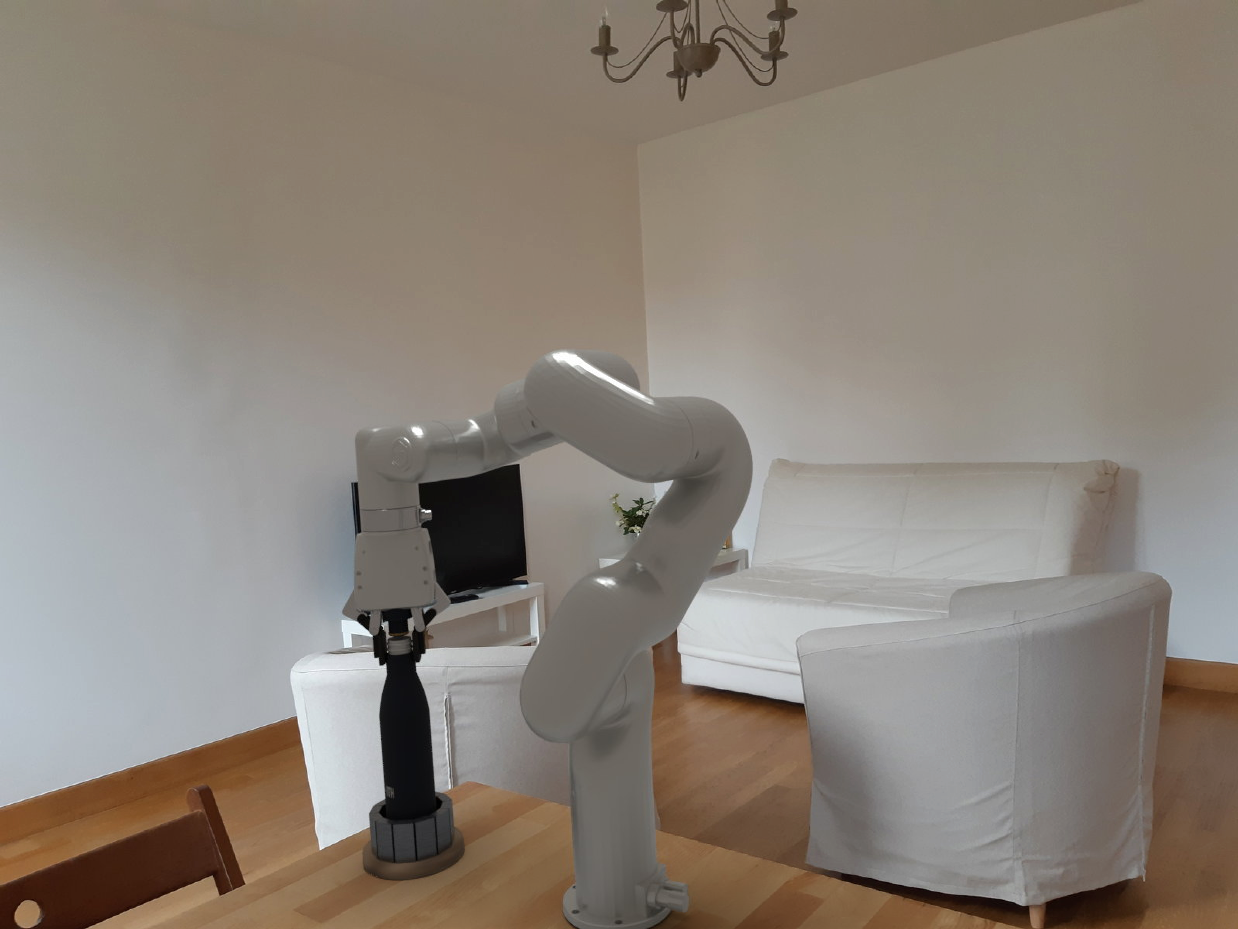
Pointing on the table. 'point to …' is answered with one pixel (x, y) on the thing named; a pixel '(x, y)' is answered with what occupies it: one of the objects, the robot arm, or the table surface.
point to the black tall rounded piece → (405, 728)
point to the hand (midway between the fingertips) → (400, 660)
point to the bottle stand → (412, 843)
